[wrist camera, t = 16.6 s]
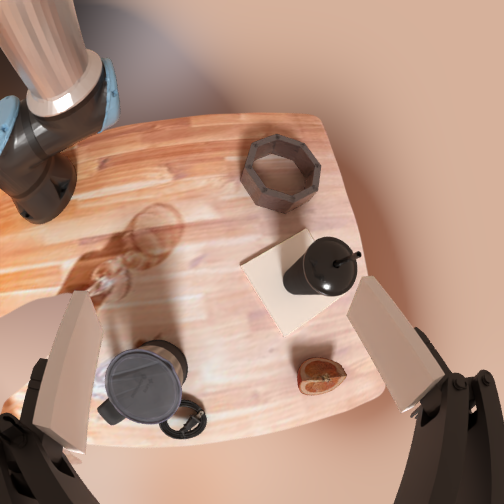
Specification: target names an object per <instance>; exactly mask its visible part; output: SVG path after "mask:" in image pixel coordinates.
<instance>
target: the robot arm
mask: <svg viewBox="0 0 504 504" xmlns="http://www.w3.org/2000/svg"><path fill="white" fill-rule="evenodd" d="M0 47H1V49H2V50H3V52H4V53H5V55H6V56H7V58H8V60H9V61H10V63H11V64H12V66H13V67H14V69H15V70H16V72H17V73H18V74H19V76H20V77H21V79H22V80H23V82H24V83H25V85H26V86H27V87H28V92H27V97H26V98H25V99H23V100H22V101H19V98H17V97H15V96H14V95H12V96H7V97H5V98H3V99H2V100H0V189H2V190H3V191H4V192H5V193H7V194H8V195H9V196H10V197H11V198H12V200H13V202H14V204H15V206H16V208H17V210H18V212H19V213H20V215H21V216H22V217H23V218H25V219H26V220H28V221H29V222H31V223H34V224H43V223H46V222H48V221H50V220H52V219H54V218H55V217H56V216H58V215H59V214H60V213H61V212H62V211H63V210H64V208H65V207H66V206H67V204H68V203H69V201H70V199H71V197H72V195H73V192H74V189H75V186H76V171H75V168H74V166H73V164H72V163H71V161H70V160H69V159H68V157H66V156H65V155H64V154H62V153H60V152H61V151H63V150H65V149H66V148H68V147H70V146H72V145H74V144H76V143H78V142H80V141H82V140H84V139H86V138H88V137H90V136H92V135H95V134H98V133H101V132H102V131H103V130H104V129H106V128H108V127H110V126H112V125H114V124H115V123H116V122H117V121H118V120H119V118H120V100H119V94H118V89H117V80H116V75H115V71H114V67H113V63H112V61H111V59H109V58H100V57H99V56H98V54H97V53H95V52H94V51H92V50H88V49H86V48H85V45H84V41H83V38H82V34H81V31H80V27H79V24H78V20H77V16H76V12H75V8H74V4H73V0H0ZM347 317H348V319H349V320H350V322H351V324H352V326H353V327H354V329H355V331H356V332H357V334H358V336H359V338H360V339H361V341H362V343H363V344H364V346H365V348H366V350H367V352H368V353H369V355H370V357H371V359H372V360H373V362H374V364H375V366H376V368H377V369H378V371H379V373H380V375H381V377H382V379H383V380H384V382H385V384H386V386H387V388H388V390H389V391H390V393H391V395H392V397H393V399H394V401H395V403H396V405H397V407H398V408H399V411H400V413H402V412H405V411H407V410H408V409H411V408H413V406H415V405H416V404H417V403H418V402H419V401H420V403H421V405H420V406H419V407H418V408H417V409H416V410H415V411H414V412H413V413H412V414H411V416H410V417H411V418H412V417H413V416H414V415H416V414H417V413H418V415H417V416H416V417H415V419H417V420H416V426H415V431H414V436H413V441H412V444H411V449H410V453H409V457H408V460H407V464H406V468H405V471H404V475H403V478H402V481H401V484H400V487H399V490H398V493H397V496H396V498H395V501H394V504H504V420H503V415H502V410H501V405H500V401H499V397H498V393H497V389H496V385H495V381H494V378H493V376H492V375H491V373H490V372H488V371H487V370H480V371H479V373H478V374H477V375H476V376H475V377H468V378H465V377H464V376H463V375H461V374H459V373H452V372H451V371H450V370H449V368H448V367H447V365H446V364H445V362H444V361H443V359H442V358H441V356H440V355H439V353H438V352H437V350H436V349H434V346H433V345H432V343H430V340H429V339H428V338H427V336H426V335H425V334H424V333H423V332H422V331H421V330H420V329H418V328H417V327H415V328H413V327H412V325H411V324H410V323H409V321H408V320H407V319H406V317H405V316H404V314H403V313H402V312H401V311H400V309H399V308H398V307H397V305H396V304H395V303H394V302H393V300H392V299H391V297H390V296H389V295H388V294H387V293H386V291H385V290H384V289H383V287H382V286H381V285H380V284H379V282H378V281H377V280H376V279H375V278H374V276H366V277H361V280H360V283H359V285H358V288H357V291H356V293H355V296H354V298H353V301H352V303H351V306H350V308H349V311H348V313H347ZM103 334H104V331H103V329H102V326H101V324H100V321H99V319H98V316H97V314H96V311H95V309H94V306H93V303H92V301H91V298H90V295H89V293H88V291H74V292H73V294H72V297H71V299H70V301H69V304H68V307H67V309H66V311H65V314H64V316H63V319H62V322H61V324H60V327H59V329H58V332H57V335H56V337H55V340H54V343H53V346H52V349H51V352H50V355H49V358H48V359H42V358H40V359H39V361H38V362H37V363H36V365H35V366H34V368H33V371H32V374H31V377H30V379H31V380H30V381H29V384H28V389H27V392H26V396H25V400H24V404H23V408H22V413H21V417H20V420H18V419H17V418H16V417H15V416H13V415H12V414H10V413H3V414H1V415H0V504H100V503H99V502H98V501H97V500H96V498H95V497H94V496H93V495H92V493H91V492H90V491H89V490H88V489H87V487H86V485H85V484H84V483H83V481H82V480H81V479H80V477H79V476H78V474H77V473H76V471H75V470H74V468H73V467H72V465H71V464H70V462H69V461H68V459H67V457H66V456H65V455H64V453H63V452H62V449H63V447H64V448H66V449H67V450H69V451H72V452H77V453H82V454H86V440H87V429H88V419H89V411H90V403H91V396H92V390H93V383H94V378H95V372H96V367H97V362H98V357H99V352H100V347H101V343H102V338H103ZM475 405H476V408H477V410H476V411H475V412H474V413H472V412H471V409H472V408H473V407H474V406H475Z"/></svg>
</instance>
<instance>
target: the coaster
mask: <svg viewBox="0 0 504 504" xmlns="http://www.w3.org/2000/svg"><path fill="white" fill-rule="evenodd" d="M313 242H314V239H313V238H312V236H311V235H310V233H309V231H308V230H307V228H306V229H304V230H302V231H300V232H299V233H297V234H295V235H294V236H292V237H290V238H288V239H287V240H285V241H283V242H282V243H280V244H278V245H276V246H275V247H273V248H271V249H269V250H268V251H266V252H264V253H263V254H261V255H259V256H257V257H256V258H254V259H252V260H250V261H249V262H247V263H245V264H243V265H242V266H240V267H241V269H242V271H243V272H244V274H245V275H246V277H247V279H248V280H249V282H250V284H251V285H252V287H253V289H254V290H255V292H256V294H257V295H258V297H259V299H260V300H261V302H262V303H263V305H264V307H265V308H266V310H267V312H268V313H269V315H270V316H271V318H272V320H273V321H274V323H275V325H276V326H277V328H278V329H279V331H280V333H281V334H282V336H283V337H284V338H285V337H286V336H288V335H289V334H291V333H292V332H294V331H295V330H297V329H298V328H299V327H301V326H302V325H304V324H305V323H307V322H308V321H309V320H311V319H312V318H314V317H315V316H316V315H318V314H319V313H320V312H322V311H323V310H325V309H326V308H327V307H329V306H330V305H331V304H333V303H334V302H335V301H337V300H338V299H339V298H340V297H342V296H343V295H344V294H346V293H344V294H342V295H340V296H335V297H328V296H324V295H293V294H291V293H289V292H288V291H287V290H286V289H285V287H284V285H283V276H284V274H285V272H286V271H287V270H288V269H289V268H290V267H291V266H292V265H293V264H294V263H295V262H296V261H297V260H298V259H299V258H300V257H301V256H302V255H303V254H304V253H305V252H306V250H307V249H308V247H309V246H310V245H311V244H312V243H313Z"/></svg>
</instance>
